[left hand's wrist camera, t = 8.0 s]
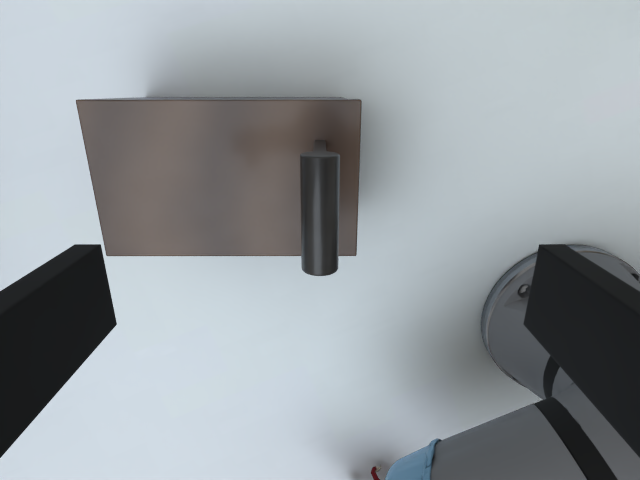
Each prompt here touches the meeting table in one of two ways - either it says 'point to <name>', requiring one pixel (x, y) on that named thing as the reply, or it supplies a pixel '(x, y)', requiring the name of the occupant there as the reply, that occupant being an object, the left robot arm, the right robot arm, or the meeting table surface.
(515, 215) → the meeting table surface
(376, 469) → the toy
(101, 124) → the lid
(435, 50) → the meeting table surface
